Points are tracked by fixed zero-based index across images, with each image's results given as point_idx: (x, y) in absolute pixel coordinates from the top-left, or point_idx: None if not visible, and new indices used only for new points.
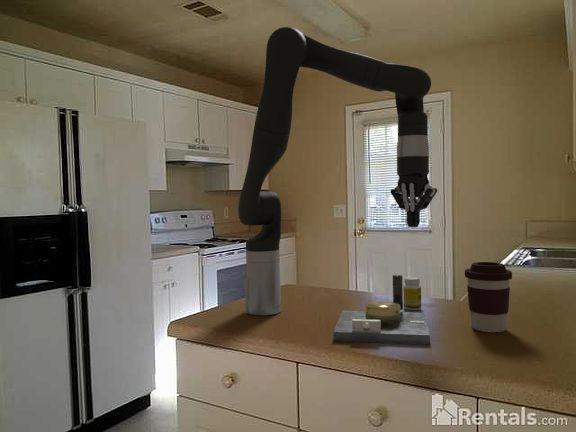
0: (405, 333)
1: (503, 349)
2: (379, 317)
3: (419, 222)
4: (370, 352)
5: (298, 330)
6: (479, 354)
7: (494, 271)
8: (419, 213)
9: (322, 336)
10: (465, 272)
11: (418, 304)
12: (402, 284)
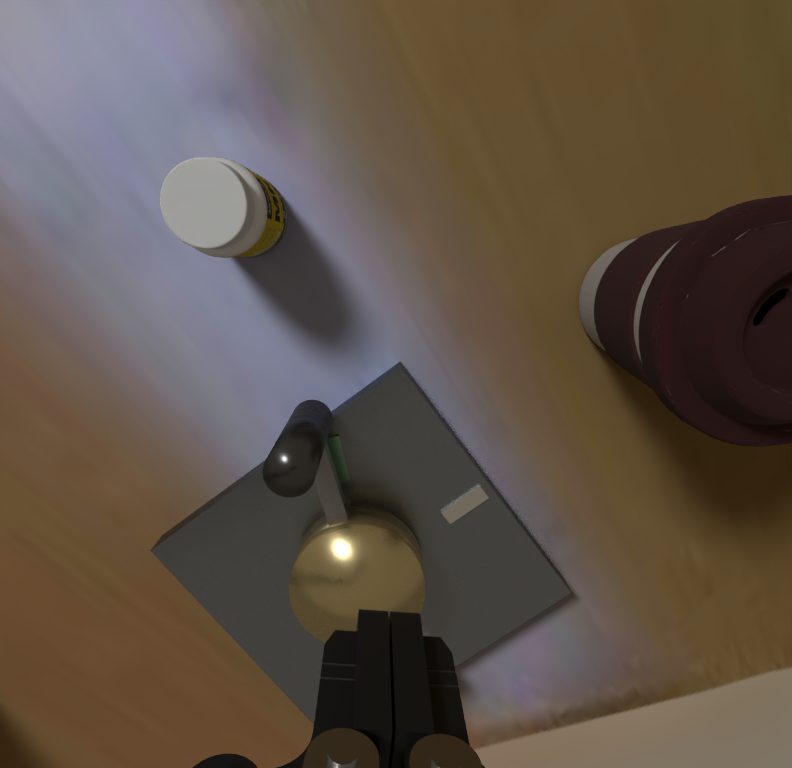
0: (505, 625)
1: (743, 474)
2: None
3: (452, 658)
4: (473, 722)
5: (178, 720)
6: (704, 555)
7: None
8: (468, 740)
9: (278, 713)
10: (673, 409)
11: (282, 224)
12: (315, 442)
